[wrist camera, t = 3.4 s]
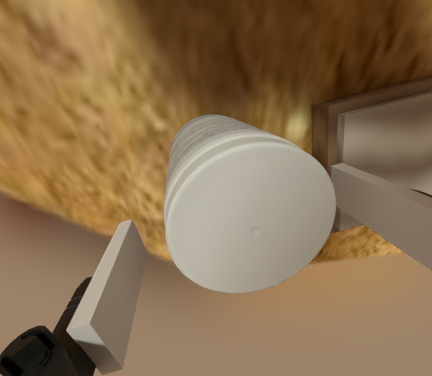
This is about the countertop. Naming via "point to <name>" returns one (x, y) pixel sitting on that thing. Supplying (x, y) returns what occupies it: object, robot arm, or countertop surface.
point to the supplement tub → (243, 205)
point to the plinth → (378, 136)
